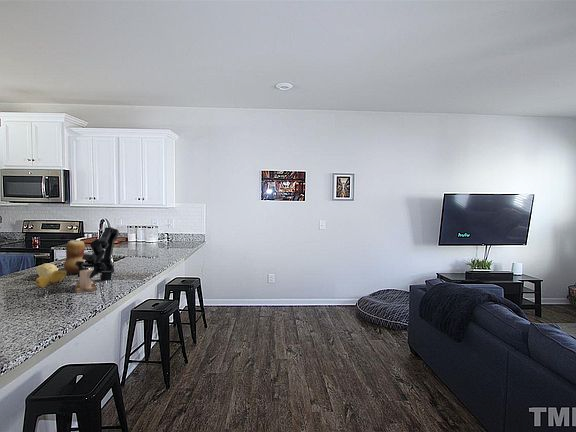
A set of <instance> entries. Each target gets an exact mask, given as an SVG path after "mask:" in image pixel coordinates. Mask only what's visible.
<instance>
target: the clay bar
mask: <svg viewBox="0 0 576 432" xmlns="http://www.w3.org/2000/svg"><path fill="white" fill-rule="evenodd" d="M91 273H92V270H91V269H87V268H86V269H85V270H81V271H80V277H79V282H80V289H85V288H91V281H92V278H89V277H90V275H91Z"/></svg>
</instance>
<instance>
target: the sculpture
mask: <svg viewBox="0 0 576 432" xmlns="http://www.w3.org/2000/svg"><path fill="white" fill-rule="evenodd" d="M54 271H59V269H58V267H57V266H56V265H55V264H54V263H48V262H47V263H46V262H45V263H43V264H41V265H38V266H36V274H37V275H38V278H39V277H48V276H50V275H51V274H52V273H53V272H54Z"/></svg>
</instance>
